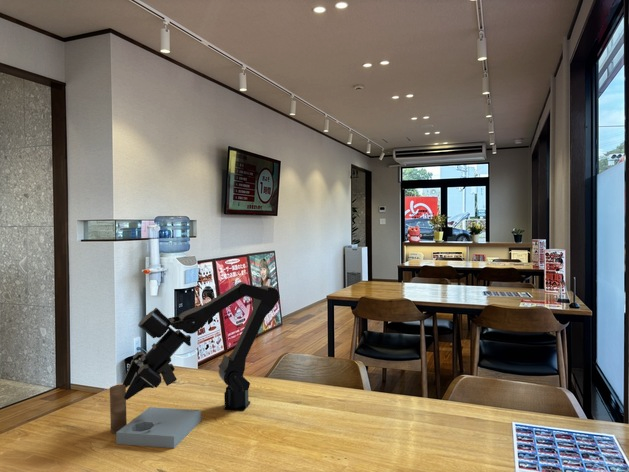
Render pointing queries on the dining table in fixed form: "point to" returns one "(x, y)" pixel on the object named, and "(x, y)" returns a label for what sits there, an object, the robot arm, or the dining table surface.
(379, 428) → the dining table surface
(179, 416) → the plate
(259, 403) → the dining table surface
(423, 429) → the dining table surface
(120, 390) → the peg
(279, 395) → the dining table surface
